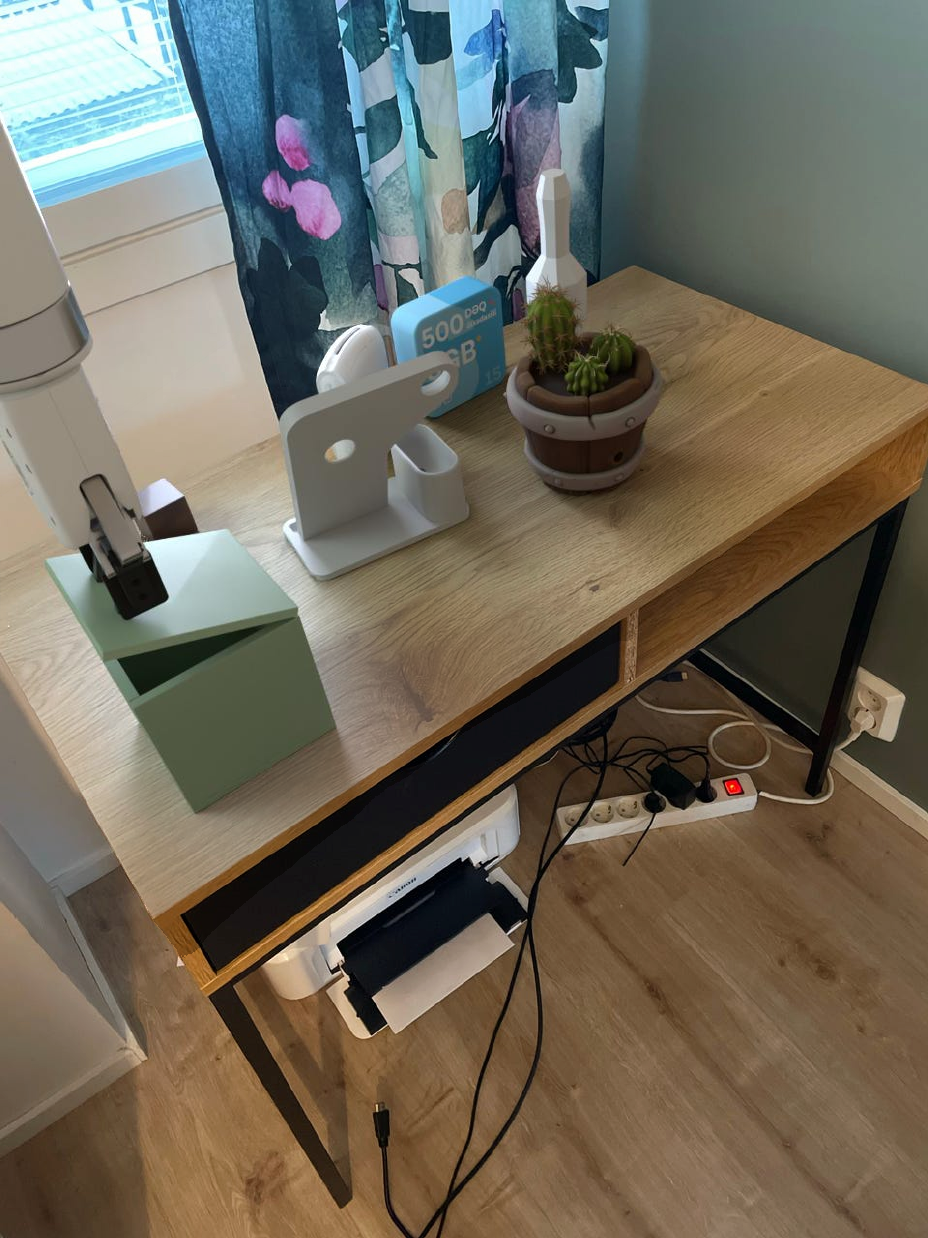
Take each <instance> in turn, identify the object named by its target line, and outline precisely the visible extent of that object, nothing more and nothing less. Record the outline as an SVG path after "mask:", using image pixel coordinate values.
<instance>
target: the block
mask: <svg viewBox="0 0 928 1238" xmlns="http://www.w3.org/2000/svg"><path fill="white" fill-rule="evenodd" d="M136 492H137V495H138V497H139V500H140V503H141V506H142V510H143V513H142V516H141V519H140V520H139V522H136V521H135V520H134V522H135V524H136V526H137V528H138V530H139V532H140V533H141V534H142V536H144V537H145V538H146V539H147V541H148V542H150V541H156V540H162V539H168V538H174V537H180V536H186V535H192V534H195V533H197V532H198V531H199V528H198V525H197V523H196V520H195V518H194V515H193V513H192V510H191V508H190V506H189V502H188V501H187V499H186V496H185V495H184V494H183V493H182V492H181V491H180V490H178V489H177V488H176V487H175V486H174V485H173V484H172V483H171V482H170V481H169V480H167V479H166V478H165V477H163V478H161V479H158V480H157V481H155V482H153V483H151V484H149V485H147V486H145V487H143V488H142V489H140V490H136Z"/></svg>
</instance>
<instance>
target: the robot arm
mask: <svg viewBox="0 0 928 1238" xmlns="http://www.w3.org/2000/svg"><path fill="white" fill-rule="evenodd" d="M85 320H86V319H85V318H84V315H83V312H82V310H81V308H80V305H79V302H78V301H77V298H76V295H75V293H74V291H73V288H72V285H71V284H70V280H69V278H68V275H67V273H66V271H65V268H64V266H63V262H62V260H61V258H60V256H59V254H58V251H57V249H56V246H55V244H54V241H53V238H52V237H51V233H50V231H49V229H48V227H47V224H46V222H45V219H44V217H43V214H42V212H41V209H40V207H39V203H38V202H37V200H36V197H35V194H34V192H33V189H32V187H31V185H30V182H29V180H28V177H27V174H26V172H25V169H24V167H23V165H22V162H21V160H20V158H19V154H18V152H17V150H16V147H15V144H14V142H13V139H12V137H11V135H10V132H9V129H8V128H7V125H6V123H5V120H4V117H3V115H2V113H1V111H0V440H1V442H2V445H3V447H4V448H5V450H6V452H7V454H8V456H9V458H10V460H11V462H12V464H13V466H14V468H15V470H16V472H17V474H18V476H19V478H20V480H21V482H22V484H23V486H24V488H25V490H26V492H27V494H28V495H29V497H30V498H31V500H32V501H33V503H34V505H35V506H36V508H37V510H38V511H39V512H40V514H41V515H42V517H43V519H44V520H45V522H46V523H47V525H48V526H49V528H50V529H51V530H52V532H53V533H54V536H56V538H57V539H58V541H59V542H60V544H61V545H62V546H63V547H65V548H66V549H68V550H72V551H79V553H81V554H82V556H83V558H84V560H85V562H86V564H87V566H88V568H89V569H90V571H91V572H92V573H93V574H94V572H93V554H92V550H93V552H94V553H95V555H96V557H97V559H98V561H99V563H100V565H101V567H102V569H103V570H102V571H100V572H99V573H100V575H101V577H102V579H103V581H104V583H105V585H106V587H107V589H108V592H109V594H110V596H111V598H112V600H113V602H114V604H115V606H116V608H117V610H118V612H119V614H120V615H121V617H122V618H123V619H124V620H130V619H132V618H134V617H136V616H138V615H140V614H142V613H144V612H146V611H148V610H150V609H152V608H154V607H156V606H158V605H160V604H162V603H164V602H166V601H167V600H168V599H169V595H168V592H167V590H166V588H165V586H164V583H163V581H162V579H161V576H160V574H159V572H158V569H157V567H156V565H155V563H154V560H153V558H152V556H151V553H150V552H149V551H148V549H146V547H145V545H144V541H143V539H142V537H141V535H140V533H139V531H138V529H137V527H136V525H135V523H136V522H139V520H140V519H141V516H142V513H143V510H142V506H141V503H140V500H139V497H138V495H137V489H136V487H135V485H134V482H133V479H132V477H131V474H130V472H129V470H128V467H127V465H126V462H125V459H124V457H123V455H122V453H121V450H120V448H119V445H118V443H117V441H116V439H115V436H114V434H113V432H112V430H111V427H110V425H109V423H108V421H107V419H106V417H105V414H104V411H103V409H102V407H101V405H100V403H99V399H98V397H97V396H96V393H95V391H94V389H93V387H92V385H91V383H90V380H89V379H88V376H87V374H86V371H85V370H84V367H83V365H82V362H84V361H85V359H86V358H88V356H89V355H90V353H91V351H92V349H93V346H94V345H93V344H94V340H93V337H92V335H91V332H90V329H89V328H88V324H87V323H86V321H85ZM94 518H97V520H98V522H99V523H98V524H96V525H94V526H92V527H90V520H92V519H94ZM135 521H136V522H135ZM134 522H135V523H134ZM106 536H107V538H108V540H109V542H110V544H111V546H112V549H110V550H108V556H107V554H106V552H105V550H104V548H103V546H102V544H101V542H100V541H99V540H100V539H102V538H104V537H106ZM89 544H90V545H89Z"/></svg>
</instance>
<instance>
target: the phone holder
mask: <svg viewBox="0 0 928 1238" xmlns="http://www.w3.org/2000/svg"><path fill="white" fill-rule="evenodd" d="M438 371H443V373H442V374H441V375H440V376H439V377H438V378H437V379H436V380H435V381H434V382H432V383H430V384H428V385H426V386H422V385H423V383H424V381H425V380H426V379H427V378H428V377H429V376H430V375H432V374H433V373H435V372H438ZM458 376H459V371H458V368H457V367H456V365H455V364H454V363H453V361H452V360H451V358H450V357H449V356H448V354H447V353H445V352H443V351H434V352H430V353H428V354H425V355H422V356H419V357H417V358H414V359H411V360H409V361H406V362H403V363H400V364H398V363H397V364H395V365H393V366H390V367H389V368H387V369H384V370H382V371H379V372H376V373H373V374H371V375H368V376H365V377H363V378H360V379H357V380H355V381H352V382H349V383H347V384H344V385H341V386H339V387H336V388H333V389H331V390H328V391H325V392H323V393H320V394H319V393H317V394H314V395H313V396H309V397H307V398H304V399H301V400H299V401H297V402H295V403H293V404H291V405H290V406H289V407H287V408H286V410H285V411H284V412H283V413H282V414H281V416H280V418H279V422H278V429H279V433H280V440H281V446H282V451H283V456H284V463H285V468H286V473H287V478H288V485H289V490H290V497H291V501H292V508H293V512H294V517H292V518H290V519H288V520H287V521H286V522H284V524H283V526H282V530H283V533H284V537H285V539H287V541H288V543H289V544H290V545H291V547H292V549H293V550H294V552H295V553H296V554H297V556H298V558H299V559H300V560H301V562H302V564H303V565H304V566H305V568H306V570H307V571H308V572H309V574H310V575H311V577H314V578H316V581H320V582H325V581H330V580H333V579H335V578H337V577H339V576H341V575H344V574H346V573H349V572H352V571H353V570H356V569H358V568H361V567H362V566H365V565H367V564H369V563H371V562H374V561H376V560H378V559H380V558H383V557H385V556H387V555H390V554H392V553H394V552H397V551H398V550H401V549H403V548H406V547H409V546H410V545H412V544H415V543H417V542H419V541H421V540H423V539H426V538H429V537H431V536H433V535H435V534H437V533H441V532H443V531H444V530H446V529H449V528H451V527H453V526H456V525H458V524H460V523H463V522H465V521H466V520H468V518H469V517H470V506H469V504H468V503H467V501H466V497H465V489H464V480H463V473H462V466H461V459H460V456H459V455H458V454H457V453H456V451H454V449H452V447H450V446H449V445H448V444H447V443H446V441H444V440H443V439H442V438H441V437H440V436H439V435H438V434H437V433H436V432H435V431H434V430H433V429H432V428H431V427H429V426H428V425H426V424H422V423H421V422H422V421H423V420H424V419H425V418H426V417H428V415H429V414H430V413H431V412H432V411H433V410H434V409H435V408H436V407H438V406H439V405H440V404H441V403H442V402H443V401H444V400H445V399H447V398H448V397H449V396H450V395H451V394H452V393H453V392H454V390H455V389H456V387H457V384H458ZM342 440H351V441H353V442H354V446H352V447H351V448H350V449H349V454H348V455H347V456H346V457H344V458H342V459H340V460H339V459H336V460H329V458H326V454H327V451H328V450H329V449H330V448H331V447H332V445H333V444H335V443H337V442H339V441H342ZM389 453H391V458H392V459H391V460H392V464H393V468H394V474H395V475H393V476H392V477H389V475H388V474H389V471H388V469H389V468H388V463H389V462H388V458H389V457H388V455H389Z"/></svg>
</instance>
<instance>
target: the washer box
mask: <svg viewBox="0 0 928 1238" xmlns="http://www.w3.org/2000/svg"><path fill="white" fill-rule="evenodd" d="M91 645H92V646H93V644H92V643H91ZM94 650H95V651H96V649H95V648H94ZM97 655H98V656H99V654H98V653H97ZM99 658H100V660H101V661H102V659H101V657H100V656H99ZM102 663H103V665H104V667H105V669H106V670H107V672H108V673H109V675H110V677H111V679H112V680H113V682H114V683H115V685H116V687H117V689H118V690H119V692H120V694H121V695H122V697H123V698H124V700H125V702H126V704H127V705H128V708H129V709H130V710H131V712H132V714H133V715H134V717H135V719H136V721H137V722H138V724H139V726H140V727H141V729H142V730H143V732H144V734H145V736H146V737H147V738H148V740H149V742H150V743H151V745H152V747H153V748H154V750H155V752H156V753H157V755H158V756H159V758H160V760H161V761H162V763H163V765H164V766H165V768H166V769H167V771H168V773H169V775H170V776H171V778H172V779H173V781H174V783H175V785H176V786H177V787H178V789H179V791H180V792H181V794H182V796H183V797H184V799H185V800H186V802H187V804H188V805H189V808H190V809H191V811H192V812H193V814H194V815H195V814H197V813H199V812H201V811H203V810H204V809H206V808H207V807H209V806H210V805H212V804H214V803H215V802H217V801H218V800H220V799H222V798H223V797H225V796H227V795H228V794H230V793H232V792H234V791H235V790H236V789H238V788H240V787H241V786H243V785H244V784H246V783H248V782H249V781H251V780H253V779H254V778H256V777H257V776H259V775H261V774H262V773H264V772H265V771H268V770H269V769H270V768H271V767H272V768H273V766H275V765H277V764H278V763H280V762H282V761H283V760H285V759H286V758H288V757H290V756H292V755H293V754H295V753H296V752H298V751H300V750H301V749H303V748H305V747H306V746H308V745H309V744H311V743H312V742H314V741H315V740H317V739H319V738H321V736H323V735H325V734H327V733H329V732H330V731H332V730H333V729H335V728H336V727H337V724H336V720H335V718H334V715H333V712H332V709H331V705H330V702H329V700H328V697H327V694H326V691H325V688H324V685H323V681H322V680H321V676H320V673H319V670H318V666H317V665H316V662H315V658H314V655H313V652H312V649H311V647H310V643H309V641H308V636H307V634H306V632H305V628H304V625H303V623H302V619H301V616H300V615H299V614H298V616H296V617H292V618H287V619H283V620H279V621H275V622H271V623H266V624H262V625H258V626H254V627H250V628H245V629H241V630H237V631H233V632H228V633H224V634H220V635H216V636H212V637H207V638H203V639H199V640H195V641H191V642H186V643H182V644H178V645H174V646H169V647H165V648H161V649H157V650H153V651H148V652H144V653H140V654H136V655H131V656H127V657H123V658H119V659H115V660H110V661H106V662H103V661H102Z"/></svg>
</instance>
